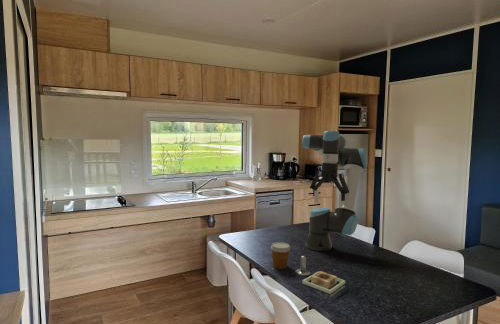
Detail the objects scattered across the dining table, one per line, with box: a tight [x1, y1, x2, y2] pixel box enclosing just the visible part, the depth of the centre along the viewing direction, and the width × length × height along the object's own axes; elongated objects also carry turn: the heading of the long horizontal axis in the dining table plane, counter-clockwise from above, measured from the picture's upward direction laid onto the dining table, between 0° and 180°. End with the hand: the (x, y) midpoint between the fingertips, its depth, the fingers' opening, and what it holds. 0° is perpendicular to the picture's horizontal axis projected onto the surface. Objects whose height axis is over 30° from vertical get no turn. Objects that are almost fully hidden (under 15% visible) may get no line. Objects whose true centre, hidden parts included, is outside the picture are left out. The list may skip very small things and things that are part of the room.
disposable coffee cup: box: [270, 241, 291, 270], centre depth 156 cm, size 10×10×12 cm
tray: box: [301, 271, 346, 298], centre depth 139 cm, size 13×13×3 cm
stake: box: [294, 255, 311, 276], centre depth 150 cm, size 7×7×9 cm
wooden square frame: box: [310, 270, 338, 290], centre depth 139 cm, size 8×9×4 cm
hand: (328, 205), depth 157 cm, fingers open, 13 cm apart
